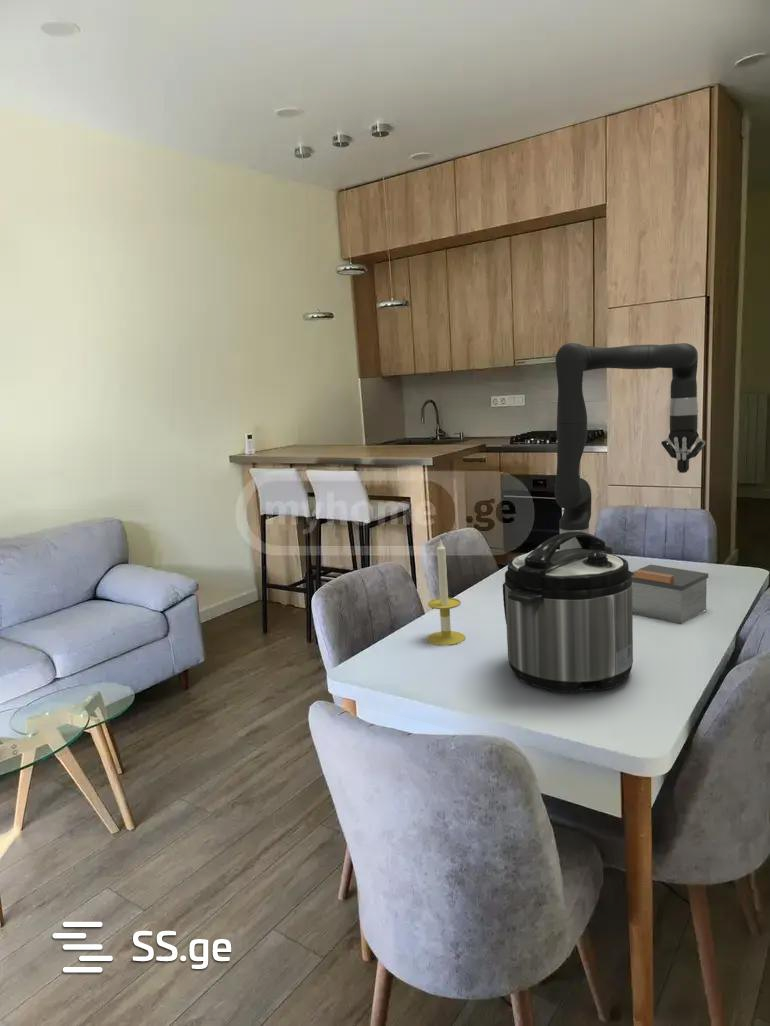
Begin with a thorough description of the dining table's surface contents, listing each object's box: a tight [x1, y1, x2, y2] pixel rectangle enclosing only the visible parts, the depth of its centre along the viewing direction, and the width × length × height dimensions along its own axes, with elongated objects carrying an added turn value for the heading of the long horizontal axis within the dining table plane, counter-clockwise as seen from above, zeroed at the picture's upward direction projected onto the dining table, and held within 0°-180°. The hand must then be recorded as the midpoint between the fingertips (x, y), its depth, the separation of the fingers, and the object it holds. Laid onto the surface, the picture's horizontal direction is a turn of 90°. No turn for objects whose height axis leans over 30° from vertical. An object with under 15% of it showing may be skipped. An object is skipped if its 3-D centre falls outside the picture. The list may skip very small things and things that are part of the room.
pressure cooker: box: [502, 532, 634, 693], centre depth 148 cm, size 30×28×32 cm
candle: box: [426, 538, 466, 646], centre depth 174 cm, size 10×10×27 cm
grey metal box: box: [632, 578, 708, 625], centre depth 184 cm, size 16×14×9 cm
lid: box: [631, 564, 709, 591], centre depth 183 cm, size 17×15×3 cm
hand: (683, 472), depth 199 cm, fingers closed
